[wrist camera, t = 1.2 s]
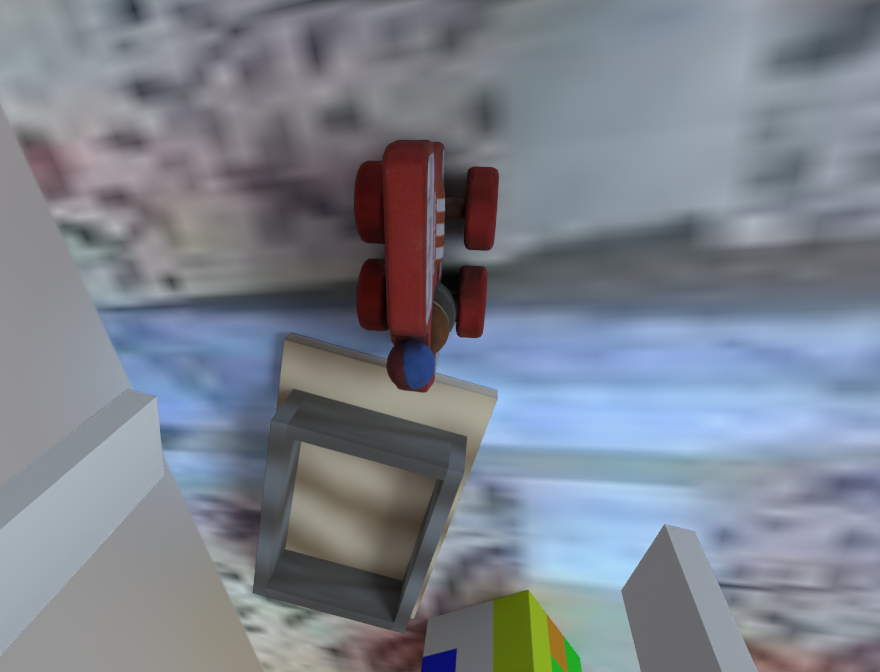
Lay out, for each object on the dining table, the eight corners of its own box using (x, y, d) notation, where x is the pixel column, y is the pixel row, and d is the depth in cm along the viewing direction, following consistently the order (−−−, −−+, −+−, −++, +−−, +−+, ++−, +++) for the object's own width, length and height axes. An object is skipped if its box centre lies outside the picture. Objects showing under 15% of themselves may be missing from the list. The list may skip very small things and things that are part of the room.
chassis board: (290, 332, 30) (259, 367, 26) (497, 390, 30) (497, 433, 26) (263, 566, 41) (237, 616, 37) (415, 607, 41) (406, 661, 37)
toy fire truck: (373, 337, 30) (318, 441, 20) (370, 126, 24) (292, 136, 15) (481, 348, 29) (475, 459, 20) (503, 134, 24) (509, 149, 14)
